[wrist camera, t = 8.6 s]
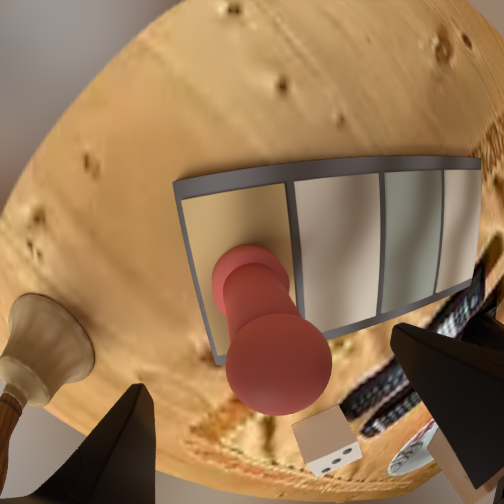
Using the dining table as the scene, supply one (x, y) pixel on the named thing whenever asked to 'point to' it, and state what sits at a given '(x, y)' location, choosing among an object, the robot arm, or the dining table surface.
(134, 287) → the dining table surface
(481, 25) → the dining table surface
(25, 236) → the dining table surface
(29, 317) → the hand bell
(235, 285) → the pawn
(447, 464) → the wooden block
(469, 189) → the board
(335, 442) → the die
